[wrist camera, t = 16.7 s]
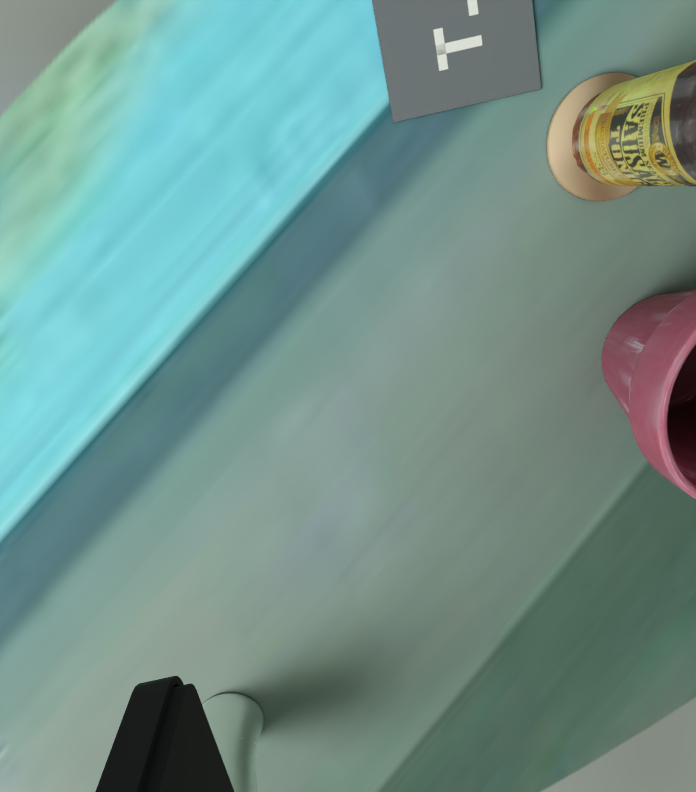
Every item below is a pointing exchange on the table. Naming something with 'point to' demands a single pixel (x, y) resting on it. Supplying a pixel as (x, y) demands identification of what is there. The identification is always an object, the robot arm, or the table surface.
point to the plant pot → (658, 381)
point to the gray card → (455, 52)
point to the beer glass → (236, 736)
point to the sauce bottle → (641, 131)
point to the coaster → (561, 141)
